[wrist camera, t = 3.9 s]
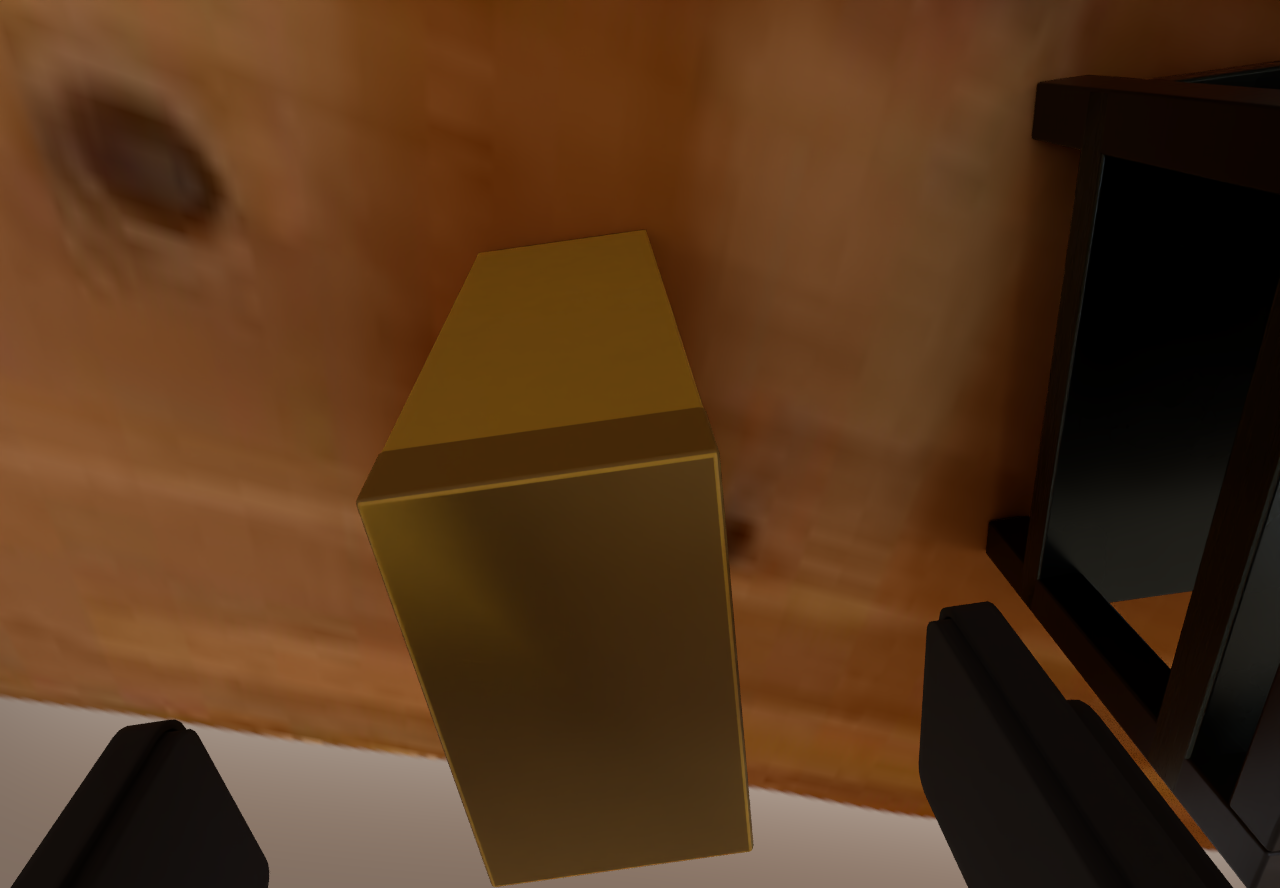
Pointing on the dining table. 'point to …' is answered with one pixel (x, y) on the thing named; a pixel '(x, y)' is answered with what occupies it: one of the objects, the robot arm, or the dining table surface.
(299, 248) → the dining table surface
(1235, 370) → the black storage tray
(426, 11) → the dining table surface
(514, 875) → the block
